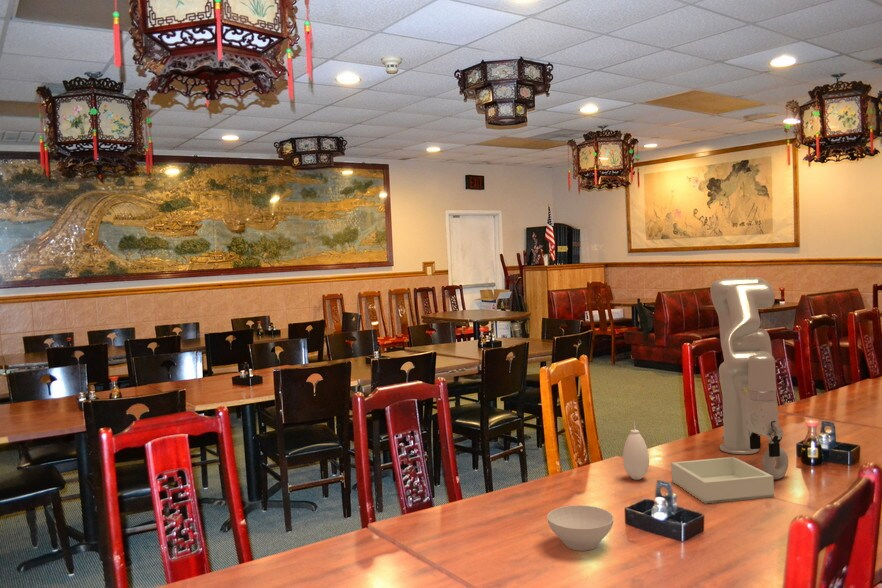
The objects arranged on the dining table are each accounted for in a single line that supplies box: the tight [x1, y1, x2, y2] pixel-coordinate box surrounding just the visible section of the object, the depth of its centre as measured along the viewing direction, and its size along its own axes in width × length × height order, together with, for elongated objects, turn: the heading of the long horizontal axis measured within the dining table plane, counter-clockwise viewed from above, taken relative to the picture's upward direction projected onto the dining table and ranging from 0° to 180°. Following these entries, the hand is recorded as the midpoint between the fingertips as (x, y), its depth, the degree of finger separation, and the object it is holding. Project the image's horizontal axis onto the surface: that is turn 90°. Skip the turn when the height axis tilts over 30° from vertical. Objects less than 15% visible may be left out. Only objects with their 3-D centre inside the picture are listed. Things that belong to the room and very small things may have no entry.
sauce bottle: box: [622, 421, 650, 481], centre depth 219 cm, size 8×8×18 cm
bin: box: [670, 456, 775, 505], centre depth 205 cm, size 20×20×6 cm
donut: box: [761, 446, 789, 481], centre depth 212 cm, size 10×4×10 cm, turn 119°
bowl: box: [546, 504, 614, 552], centre depth 171 cm, size 16×16×7 cm
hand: (764, 452), depth 211 cm, fingers open, 9 cm apart
